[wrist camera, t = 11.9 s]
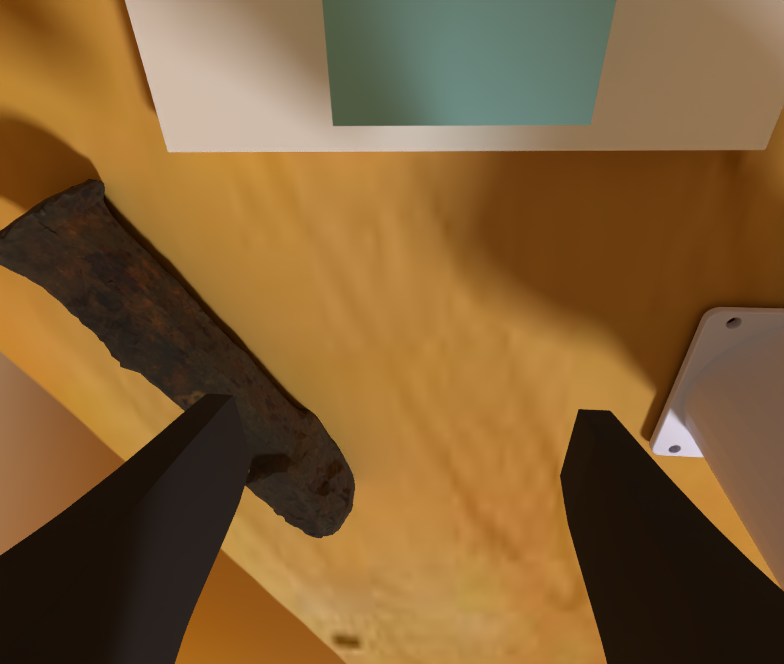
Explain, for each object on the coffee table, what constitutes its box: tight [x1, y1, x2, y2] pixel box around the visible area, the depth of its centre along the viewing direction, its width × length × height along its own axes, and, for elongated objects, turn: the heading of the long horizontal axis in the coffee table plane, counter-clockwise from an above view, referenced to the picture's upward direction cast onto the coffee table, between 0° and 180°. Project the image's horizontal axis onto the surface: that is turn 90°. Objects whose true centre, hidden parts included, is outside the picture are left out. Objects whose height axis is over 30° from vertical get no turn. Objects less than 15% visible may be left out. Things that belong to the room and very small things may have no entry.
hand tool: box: [0, 179, 355, 538], centre depth 20 cm, size 19×4×5 cm, turn 30°
